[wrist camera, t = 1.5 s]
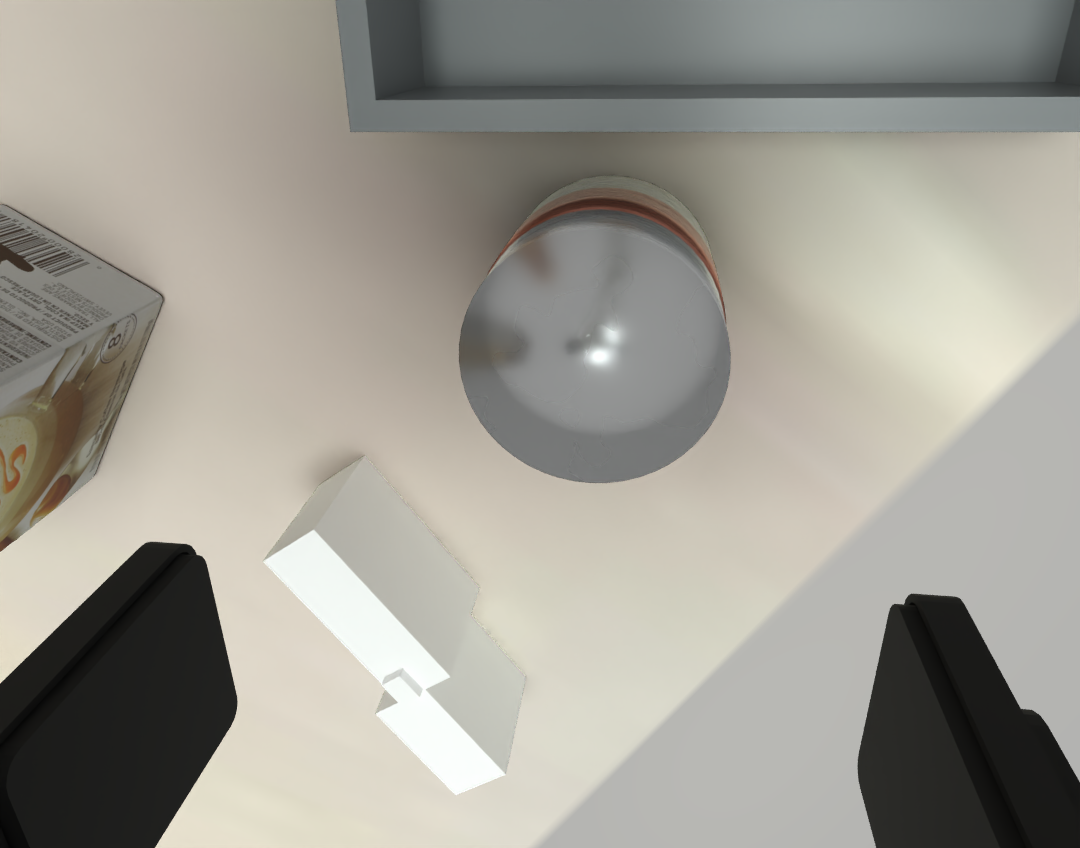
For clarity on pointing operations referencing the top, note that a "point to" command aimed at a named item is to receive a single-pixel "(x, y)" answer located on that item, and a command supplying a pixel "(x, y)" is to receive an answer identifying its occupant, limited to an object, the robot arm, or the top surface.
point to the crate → (711, 65)
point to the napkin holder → (405, 623)
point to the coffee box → (60, 365)
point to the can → (599, 334)
